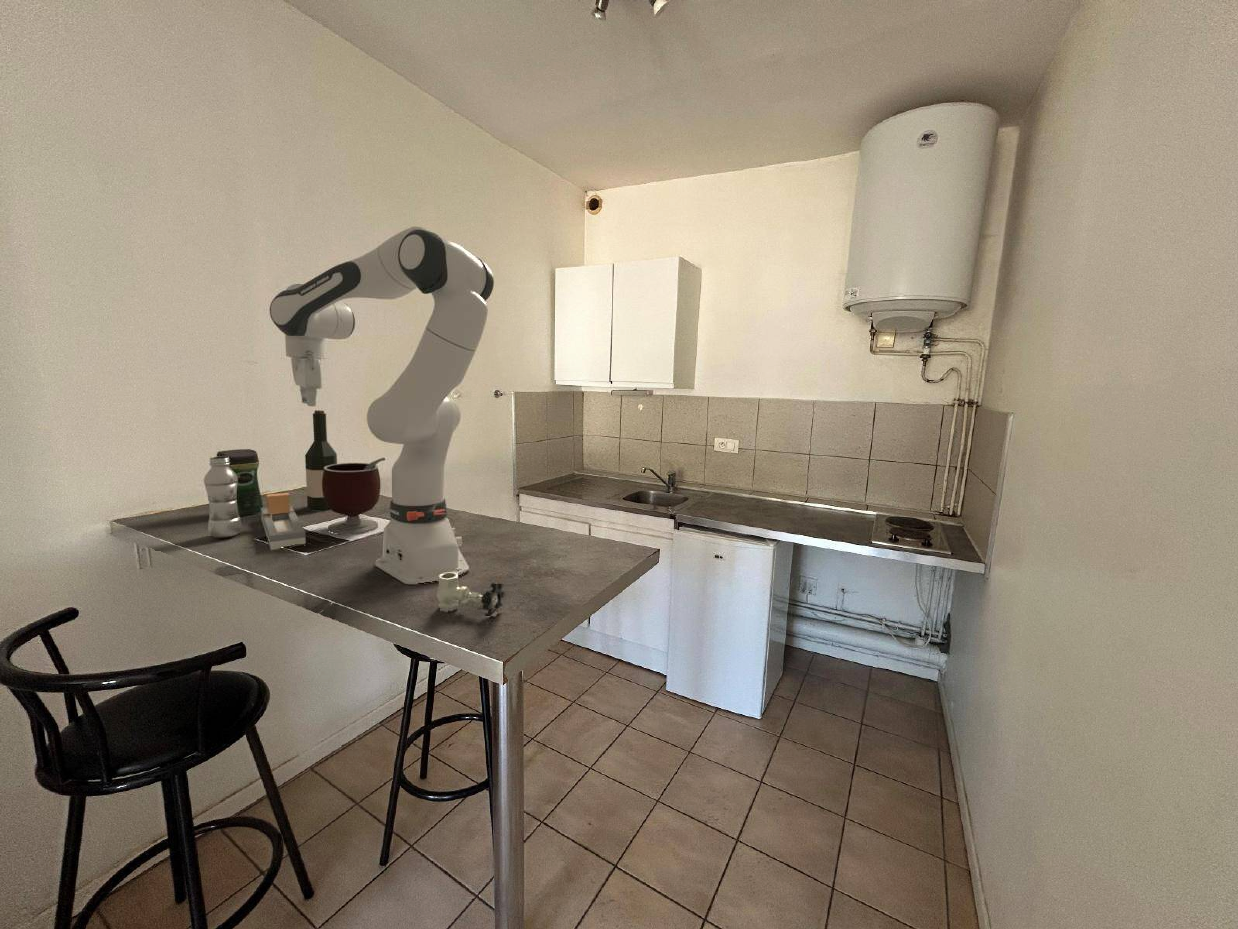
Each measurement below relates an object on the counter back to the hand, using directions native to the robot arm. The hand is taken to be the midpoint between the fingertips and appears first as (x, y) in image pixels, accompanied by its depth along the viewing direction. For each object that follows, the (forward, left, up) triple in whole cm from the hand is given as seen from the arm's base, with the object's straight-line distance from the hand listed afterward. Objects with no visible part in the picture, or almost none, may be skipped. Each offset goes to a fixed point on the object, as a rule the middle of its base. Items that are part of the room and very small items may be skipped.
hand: (308, 404), depth 129 cm
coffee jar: (+22, +15, -33) cm, 43 cm away
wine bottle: (+19, -5, -33) cm, 39 cm away
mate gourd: (-7, -9, -33) cm, 35 cm away
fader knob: (+4, +7, -31) cm, 32 cm away
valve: (-69, -15, -34) cm, 78 cm away
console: (-2, +7, -33) cm, 34 cm away
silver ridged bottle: (0, +19, -33) cm, 38 cm away
